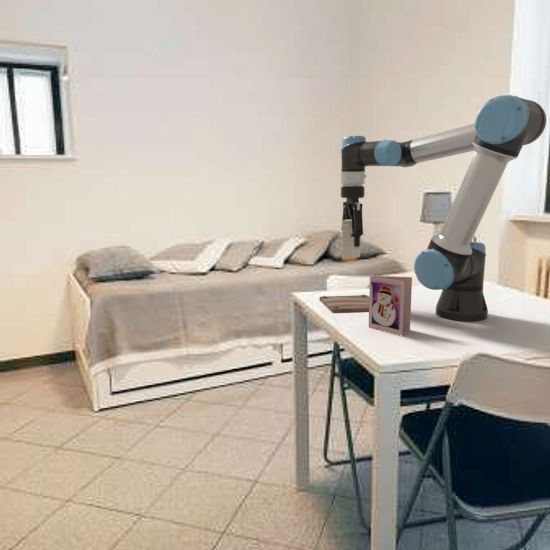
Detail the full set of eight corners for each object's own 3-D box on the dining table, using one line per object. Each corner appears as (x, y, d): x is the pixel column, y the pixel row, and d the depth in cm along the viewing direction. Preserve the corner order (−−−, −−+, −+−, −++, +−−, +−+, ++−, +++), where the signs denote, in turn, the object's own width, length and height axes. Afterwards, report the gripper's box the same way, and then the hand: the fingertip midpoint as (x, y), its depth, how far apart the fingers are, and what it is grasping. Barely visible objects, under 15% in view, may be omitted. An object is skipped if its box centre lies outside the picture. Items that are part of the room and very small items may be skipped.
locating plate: (383, 310, 170) (383, 305, 169) (332, 312, 167) (332, 307, 167) (366, 298, 187) (366, 294, 187) (319, 300, 185) (319, 295, 185)
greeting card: (366, 328, 150) (368, 276, 147) (382, 323, 155) (384, 272, 152) (400, 336, 141) (402, 281, 139) (416, 331, 146) (418, 278, 144)
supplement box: (356, 261, 170) (357, 220, 168) (341, 260, 171) (342, 220, 169) (360, 257, 178) (361, 218, 175) (346, 257, 179) (347, 218, 177)
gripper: (374, 185, 160) (372, 259, 164) (354, 185, 181) (352, 250, 185) (350, 185, 159) (349, 259, 163) (333, 185, 180) (332, 250, 184)
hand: (351, 254), depth 174 cm, fingers closed on supplement box, 9 cm apart
